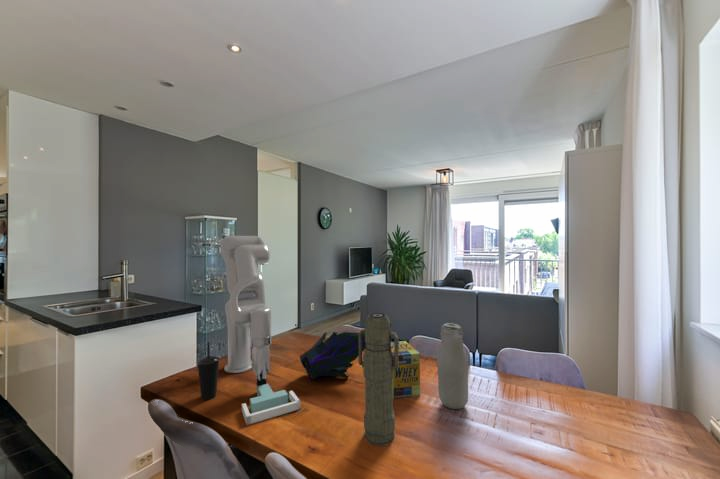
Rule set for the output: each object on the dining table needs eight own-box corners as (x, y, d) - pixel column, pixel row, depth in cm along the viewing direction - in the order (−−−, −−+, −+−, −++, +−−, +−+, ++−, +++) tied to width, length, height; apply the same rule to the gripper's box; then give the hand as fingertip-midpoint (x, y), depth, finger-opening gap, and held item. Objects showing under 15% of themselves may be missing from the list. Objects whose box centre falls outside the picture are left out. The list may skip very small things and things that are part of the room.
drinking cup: (210, 403, 108) (210, 346, 108) (192, 401, 109) (191, 345, 110) (224, 392, 115) (224, 339, 116) (206, 390, 117) (206, 338, 117)
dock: (241, 411, 102) (241, 403, 102) (292, 397, 111) (292, 390, 111) (246, 425, 94) (246, 417, 94) (300, 408, 103) (300, 401, 103)
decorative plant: (309, 394, 131) (368, 363, 144) (319, 397, 109) (389, 360, 121) (292, 348, 137) (351, 322, 149) (299, 341, 115) (367, 311, 127)
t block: (245, 398, 110) (245, 389, 110) (278, 390, 116) (278, 381, 117) (252, 414, 100) (252, 404, 100) (288, 404, 106) (287, 394, 106)
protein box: (393, 399, 108) (392, 355, 109) (381, 380, 124) (381, 342, 124) (421, 396, 111) (420, 353, 111) (406, 377, 126) (405, 340, 126)
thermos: (399, 448, 83) (396, 319, 83) (356, 443, 85) (354, 317, 85) (401, 428, 91) (399, 312, 92) (362, 424, 94) (361, 310, 94)
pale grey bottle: (468, 401, 107) (466, 320, 107) (468, 417, 97) (467, 328, 97) (439, 396, 110) (437, 319, 110) (436, 411, 100) (435, 326, 100)
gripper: (247, 337, 120) (247, 383, 120) (254, 348, 107) (255, 400, 107) (266, 334, 124) (266, 379, 124) (276, 344, 111) (276, 395, 111)
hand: (261, 389), depth 115 cm, fingers closed
